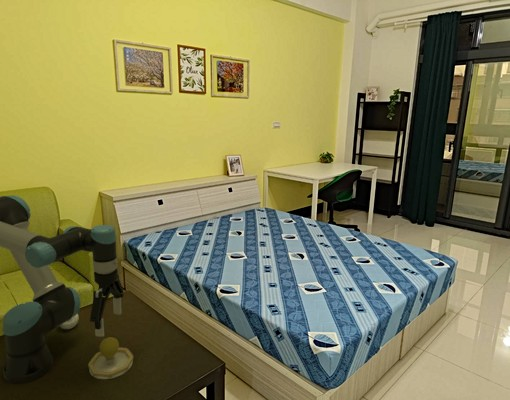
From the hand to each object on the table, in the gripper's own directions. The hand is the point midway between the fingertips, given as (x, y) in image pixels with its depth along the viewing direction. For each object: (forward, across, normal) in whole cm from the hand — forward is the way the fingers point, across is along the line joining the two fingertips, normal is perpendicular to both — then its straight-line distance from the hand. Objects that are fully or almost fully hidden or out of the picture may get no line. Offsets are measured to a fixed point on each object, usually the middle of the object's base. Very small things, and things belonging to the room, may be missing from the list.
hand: (109, 324), depth 127 cm
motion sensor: (+17, +20, +28) cm, 38 cm away
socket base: (+17, 0, 0) cm, 17 cm away
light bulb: (+16, 0, 0) cm, 16 cm away
